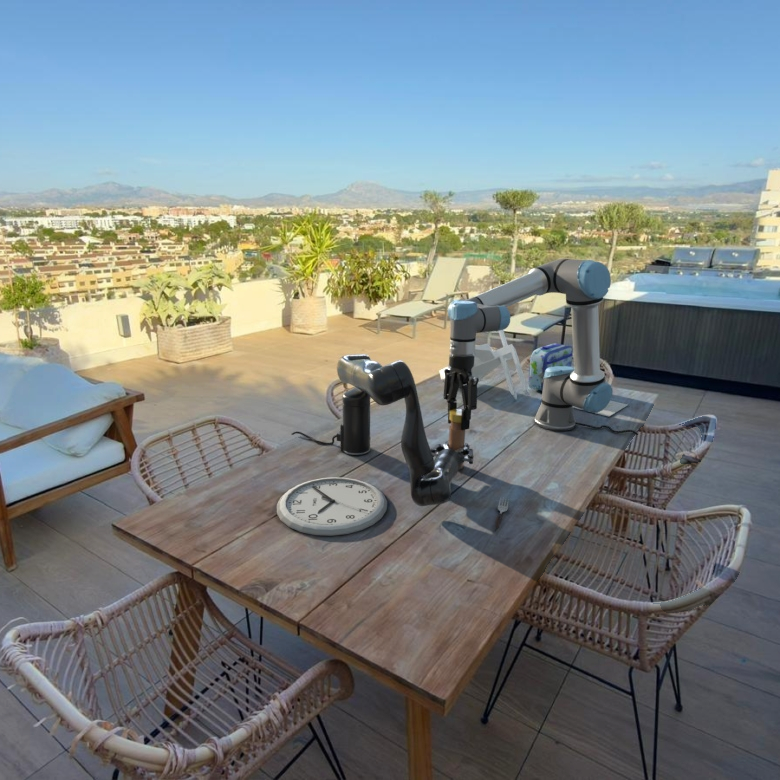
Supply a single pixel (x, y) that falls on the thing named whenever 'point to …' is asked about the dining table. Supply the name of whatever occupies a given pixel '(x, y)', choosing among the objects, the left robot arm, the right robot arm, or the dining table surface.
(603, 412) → the invitation card
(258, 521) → the dining table surface
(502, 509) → the fork
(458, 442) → the jar
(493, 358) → the white plastic object
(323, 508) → the wall clock
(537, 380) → the lunch box
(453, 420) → the lid
